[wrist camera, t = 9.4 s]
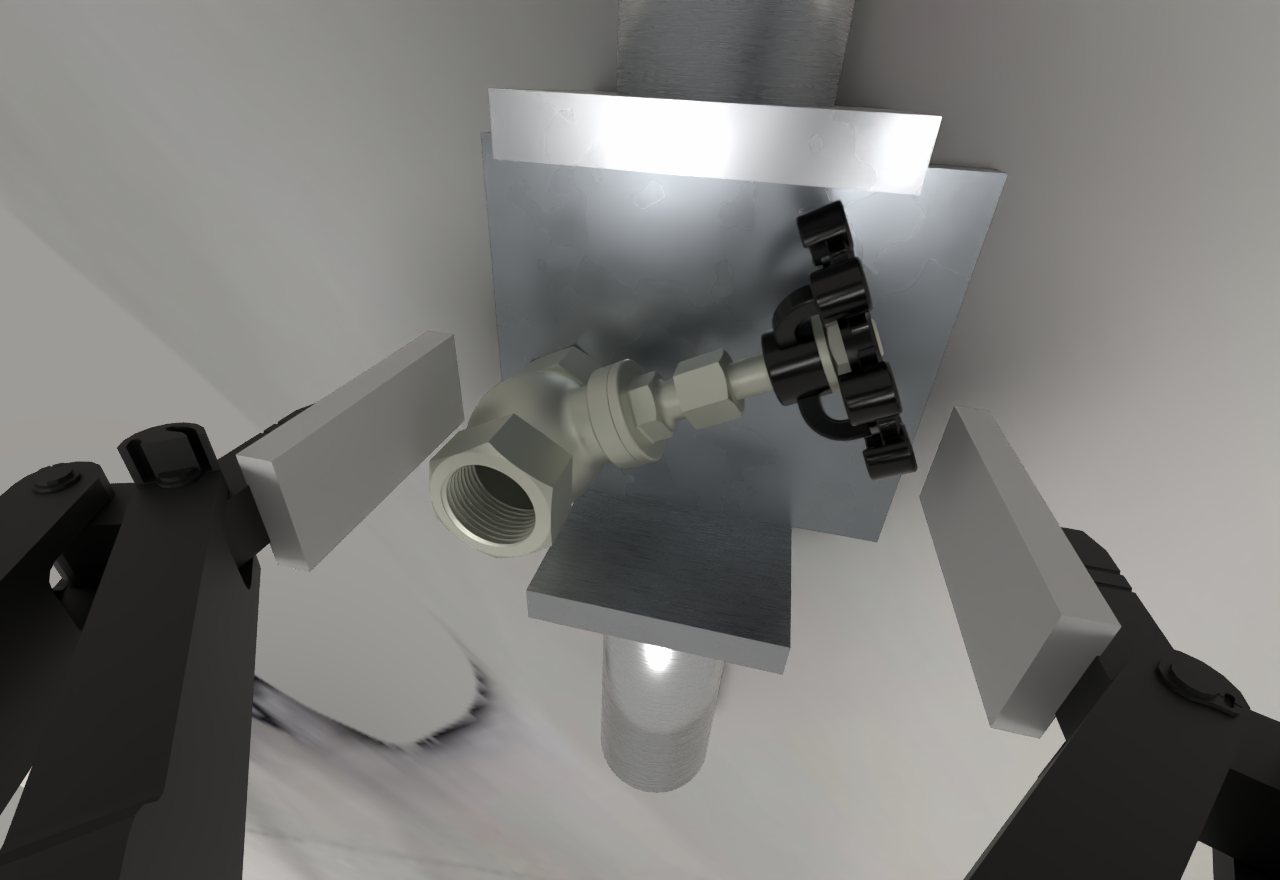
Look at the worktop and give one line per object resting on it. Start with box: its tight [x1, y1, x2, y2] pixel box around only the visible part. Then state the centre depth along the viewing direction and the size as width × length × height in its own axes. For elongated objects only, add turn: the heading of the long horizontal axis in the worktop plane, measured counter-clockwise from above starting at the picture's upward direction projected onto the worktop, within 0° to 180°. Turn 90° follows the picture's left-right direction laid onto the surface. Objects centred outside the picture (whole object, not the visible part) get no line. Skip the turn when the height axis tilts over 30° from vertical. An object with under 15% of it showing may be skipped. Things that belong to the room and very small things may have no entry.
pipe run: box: [481, 0, 1008, 793], centre depth 16 cm, size 37×14×6 cm, turn 177°
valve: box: [429, 200, 917, 558], centre depth 16 cm, size 7×7×12 cm
